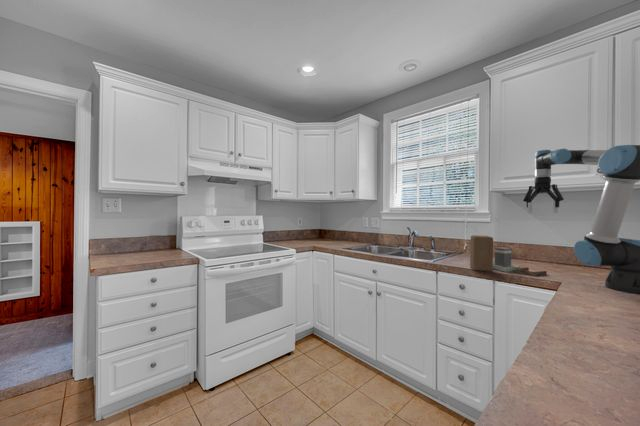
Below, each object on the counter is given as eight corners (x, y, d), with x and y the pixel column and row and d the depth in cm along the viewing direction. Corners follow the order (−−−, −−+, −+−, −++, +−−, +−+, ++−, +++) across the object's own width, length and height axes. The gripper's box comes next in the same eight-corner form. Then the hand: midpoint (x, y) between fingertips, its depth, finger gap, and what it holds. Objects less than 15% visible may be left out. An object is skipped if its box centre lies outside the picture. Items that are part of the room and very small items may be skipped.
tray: (519, 270, 165) (520, 266, 165) (505, 272, 160) (505, 267, 160) (499, 266, 176) (500, 262, 176) (485, 267, 172) (485, 263, 172)
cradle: (546, 274, 155) (546, 271, 155) (534, 276, 151) (534, 272, 151) (526, 270, 164) (526, 267, 164) (515, 271, 161) (515, 268, 161)
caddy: (511, 268, 166) (511, 248, 166) (503, 269, 164) (504, 249, 164) (501, 266, 172) (501, 247, 172) (494, 267, 170) (494, 247, 170)
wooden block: (473, 270, 163) (474, 236, 163) (469, 267, 172) (470, 235, 172) (493, 272, 160) (493, 237, 160) (488, 268, 170) (488, 235, 169)
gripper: (572, 174, 153) (571, 213, 153) (525, 179, 177) (524, 213, 177) (563, 174, 151) (562, 213, 151) (516, 179, 174) (516, 213, 174)
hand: (542, 213), depth 164 cm, fingers open, 13 cm apart
